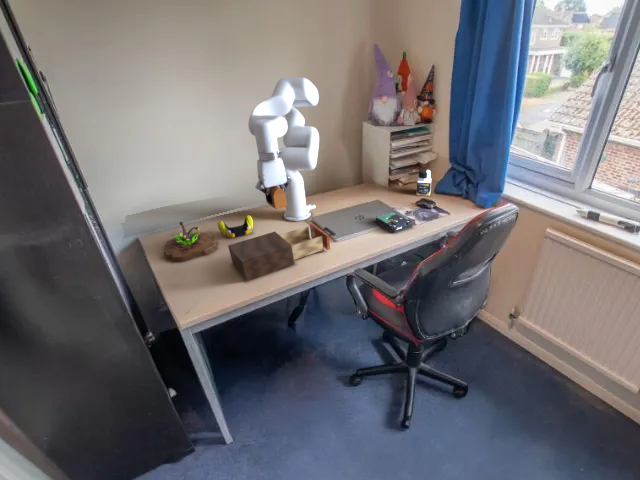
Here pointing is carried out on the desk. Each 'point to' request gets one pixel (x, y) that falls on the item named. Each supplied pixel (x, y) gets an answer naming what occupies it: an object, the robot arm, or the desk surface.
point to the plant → (189, 245)
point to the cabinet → (261, 255)
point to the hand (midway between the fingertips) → (276, 201)
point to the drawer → (308, 240)
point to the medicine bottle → (424, 182)
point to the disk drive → (393, 222)
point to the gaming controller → (236, 228)
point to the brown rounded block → (277, 197)
